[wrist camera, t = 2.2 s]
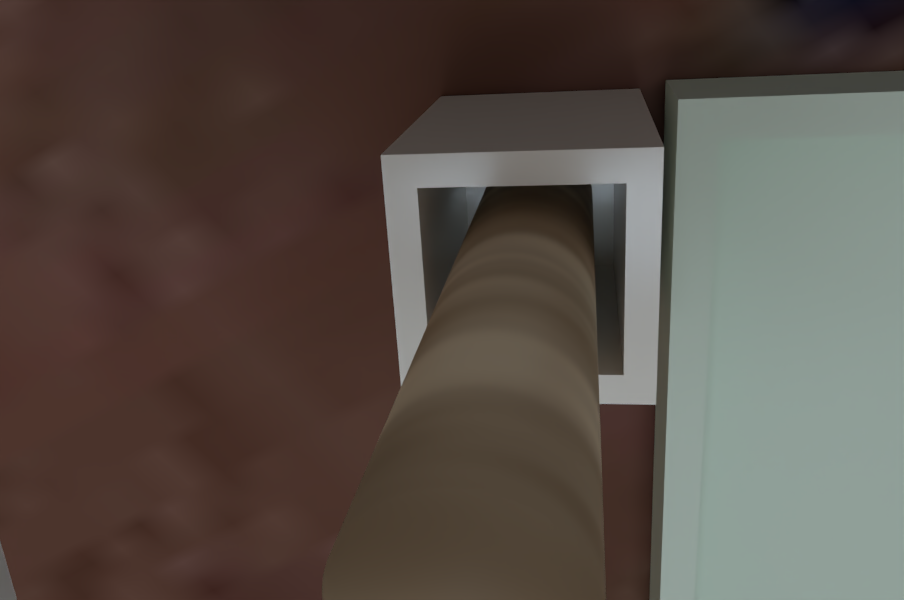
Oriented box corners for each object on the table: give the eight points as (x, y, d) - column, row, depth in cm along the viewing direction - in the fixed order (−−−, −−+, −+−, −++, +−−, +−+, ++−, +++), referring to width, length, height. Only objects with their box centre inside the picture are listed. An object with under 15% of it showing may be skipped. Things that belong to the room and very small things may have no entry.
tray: (665, 80, 24) (678, 99, 21) (1192, 59, 22) (1298, 76, 19) (646, 690, 32) (653, 773, 28) (1031, 715, 30) (1085, 808, 27)
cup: (441, 96, 25) (380, 155, 17) (639, 88, 24) (664, 146, 17) (452, 278, 27) (402, 400, 19) (635, 277, 26) (656, 404, 19)
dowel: (484, 145, 24) (305, 485, 9) (592, 142, 24) (607, 494, 8) (489, 246, 25) (337, 710, 10) (592, 245, 25) (605, 729, 9)
